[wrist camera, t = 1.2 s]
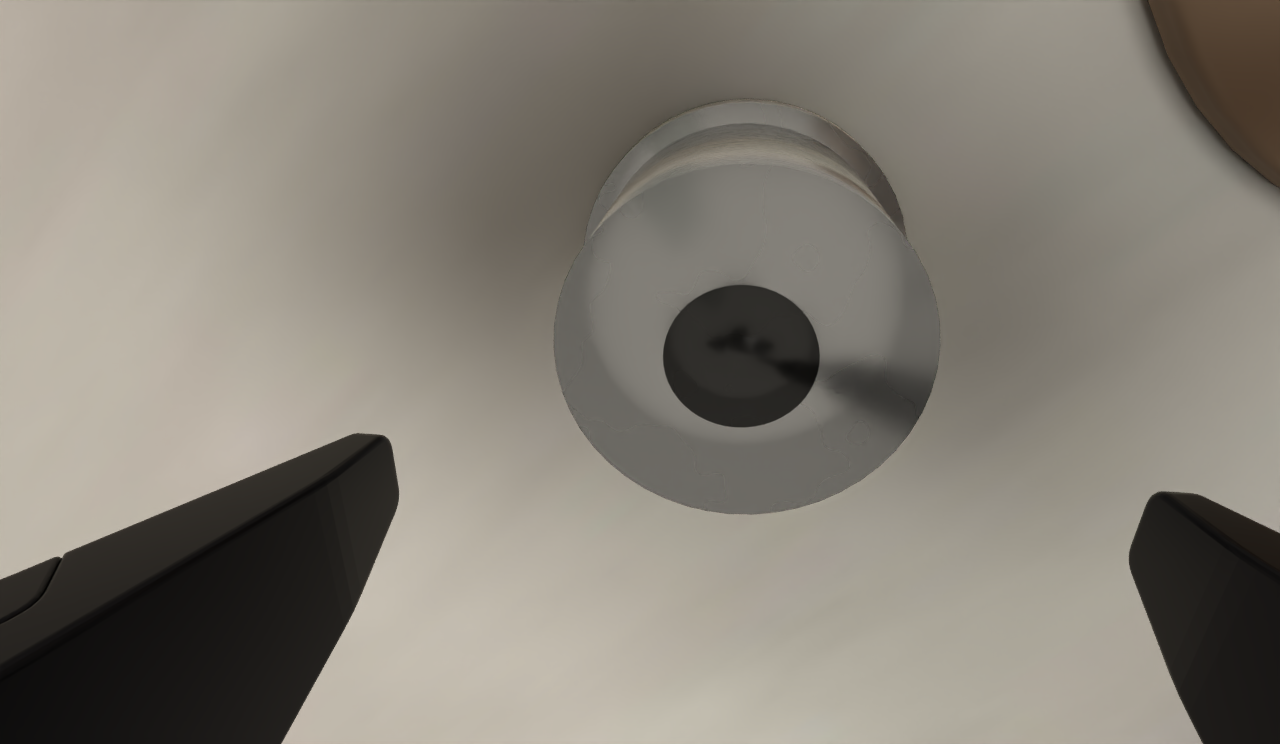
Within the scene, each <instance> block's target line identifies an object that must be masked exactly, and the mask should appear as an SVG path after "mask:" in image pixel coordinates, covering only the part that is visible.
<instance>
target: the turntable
mask: <svg viewBox="0 0 1280 744" xmlns="http://www.w3.org/2000/svg"><path fill="white" fill-rule="evenodd" d="M1148 2H1149V5H1150V8H1151V11H1152V13H1153V16H1154V19H1155V22H1156V24H1157V27H1158V30H1159V33H1160V35H1161V38H1162V41H1163V44H1164V46H1165V49H1166V52H1167V55H1168V57H1169V59H1170V61H1171V62H1172V64H1173V66H1174V68H1175V70H1176V71H1177V73H1178V75H1179V77H1180V78H1181V80H1182V82H1183V84H1184V85H1185V87H1186V89H1187V91H1188V92H1189V94H1190V96H1191V98H1192V100H1193V101H1194V103H1195V105H1196V107H1197V108H1198V109H1199V110H1200V111H1201V113H1202V114H1203V115H1204V116H1205V117H1206V119H1207V120H1208V121H1209V122H1210V123H1211V125H1212V126H1213V127H1214V128H1215V130H1216V131H1217V132H1218V133H1219V134H1220V136H1221V137H1222V138H1223V139H1224V140H1225V142H1226V143H1227V144H1228V145H1229V146H1230V148H1231V149H1232V150H1234V151H1235V152H1236V153H1237V154H1238V155H1239V156H1241V157H1242V158H1243V159H1244V160H1245V161H1247V162H1248V163H1249V164H1250V165H1251V166H1252V167H1254V168H1255V169H1256V170H1257V171H1258V172H1259V173H1261V174H1262V175H1263V176H1264V177H1265V178H1267V179H1268V180H1269V181H1270V182H1271V183H1273V184H1274V185H1276V186H1278V187H1279V188H1280V0H1148Z"/></svg>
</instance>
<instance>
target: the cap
mask: <svg viewBox="0 0 1280 744" xmlns="http://www.w3.org/2000/svg"><path fill="white" fill-rule="evenodd" d="M939 352H940V321H939V315H938V309H937V304H936V298H935V295H934V292H933V289H932V286H931V283H930V281H929V278H928V275H927V273H926V271H925V269H924V267H923V265H922V263H921V261H920V259H919V257H918V255H917V254H916V252H915V250H914V249H913V248H912V246H911V245H910V243H909V242H908V241H907V238H906V232H905V227H904V221H903V216H902V213H901V210H900V208H899V205H898V202H897V199H896V196H895V194H894V192H893V190H892V188H891V186H890V184H889V182H888V181H887V179H886V177H885V175H884V174H883V173H882V171H881V170H880V168H879V167H878V166H877V164H876V163H875V161H874V160H873V159H872V158H871V157H870V155H869V154H868V153H867V152H866V151H865V150H864V149H863V148H862V147H861V146H860V145H859V144H858V143H857V142H856V141H855V140H854V139H853V138H852V137H851V136H850V135H848V134H847V133H846V132H844V131H843V130H842V129H840V128H839V127H838V126H837V125H835V124H834V123H832V122H830V121H828V120H826V119H825V118H823V117H821V116H819V115H817V114H816V113H813V112H810V111H808V110H805V109H803V108H800V107H797V106H794V105H790V104H786V103H781V102H777V101H771V100H760V99H737V100H726V101H721V102H715V103H710V104H706V105H703V106H700V107H697V108H694V109H691V110H688V111H685V112H683V113H681V114H679V115H677V116H675V117H673V118H671V119H669V120H667V121H666V122H664V123H663V124H661V125H660V126H658V127H657V128H655V129H654V130H652V131H651V132H649V133H648V134H647V135H646V136H645V137H643V138H642V139H641V140H640V141H639V142H638V143H637V144H636V145H634V146H633V147H632V148H631V150H630V151H629V152H628V153H627V154H626V155H625V157H624V158H623V159H622V160H621V161H620V162H619V164H618V165H617V166H616V167H615V168H614V170H613V171H612V173H611V174H610V176H609V177H608V179H607V181H606V182H605V184H604V185H603V187H602V189H601V191H600V193H599V195H598V197H597V199H596V201H595V204H594V206H593V209H592V212H591V215H590V218H589V221H588V225H587V230H586V236H585V241H584V247H583V248H582V250H581V251H580V253H579V254H578V256H577V257H576V259H575V261H574V263H573V265H572V267H571V269H570V271H569V273H568V275H567V277H566V280H565V282H564V285H563V288H562V292H561V295H560V298H559V301H558V306H557V312H556V318H555V324H554V354H555V362H556V370H557V374H558V378H559V382H560V385H561V389H562V392H563V395H564V397H565V400H566V402H567V404H568V407H569V409H570V412H571V413H572V415H573V417H574V419H575V420H576V422H577V424H578V426H579V427H580V429H581V431H582V432H583V433H584V435H585V436H586V437H587V438H588V440H589V441H590V442H591V444H592V445H593V446H594V448H595V449H596V450H597V451H598V452H599V453H600V454H601V455H602V456H603V457H604V458H605V459H606V460H607V461H608V462H609V463H610V464H611V465H613V466H614V467H615V468H616V469H617V470H619V471H620V472H621V473H622V474H624V475H625V476H626V477H628V478H629V479H631V480H632V481H634V482H635V483H637V484H639V485H640V486H642V487H643V488H645V489H647V490H649V491H651V492H653V493H655V494H657V495H659V496H661V497H663V498H666V499H668V500H671V501H674V502H677V503H680V504H682V505H685V506H689V507H693V508H697V509H702V510H706V511H712V512H720V513H727V514H762V513H774V512H780V511H785V510H790V509H795V508H799V507H802V506H806V505H809V504H812V503H815V502H819V501H821V500H823V499H826V498H828V497H830V496H833V495H835V494H837V493H840V492H841V491H843V490H845V489H847V488H848V487H850V486H852V485H853V484H855V483H857V482H859V481H860V480H862V479H863V478H864V477H866V476H867V475H868V474H870V473H871V472H872V471H874V470H875V469H876V468H878V467H879V466H880V465H881V464H882V463H883V462H884V461H885V460H886V459H887V458H888V457H889V456H890V455H891V454H893V453H894V452H895V451H896V449H897V448H898V447H899V446H900V444H901V443H902V442H903V441H904V439H905V438H906V437H907V436H908V434H909V433H910V432H911V430H912V428H913V427H914V425H915V424H916V422H917V420H918V419H919V417H920V415H921V414H922V412H923V409H924V407H925V405H926V402H927V400H928V398H929V396H930V393H931V391H932V387H933V383H934V380H935V376H936V372H937V368H938V360H939Z"/></svg>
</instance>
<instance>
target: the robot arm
mask: <svg viewBox="0 0 1280 744" xmlns="http://www.w3.org/2000/svg"><path fill="white" fill-rule="evenodd" d="M398 501H399V487H398V481H397V475H396V469H395V463H394V457H393V450H392V446H391V443H390V441H389V439H388V438H386V437H385V436H383V435H376V434H362V433H356V434H352V435H349V436H347V437H344V438H342V439H339V440H337V441H335V442H332V443H330V444H327V445H325V446H323V447H320V448H318V449H315V450H313V451H310V452H308V453H306V454H303V455H301V456H298V457H296V458H294V459H291V460H289V461H286V462H284V463H281V464H279V465H277V466H274V467H272V468H269V469H267V470H265V471H262V472H260V473H257V474H255V475H253V476H250V477H248V478H245V479H243V480H240V481H238V482H236V483H233V484H231V485H228V486H226V487H224V488H221V489H219V490H216V491H214V492H211V493H209V494H207V495H204V496H202V497H199V498H197V499H195V500H192V501H190V502H187V503H185V504H183V505H180V506H178V507H175V508H173V509H170V510H168V511H166V512H163V513H161V514H158V515H156V516H154V517H151V518H149V519H146V520H144V521H142V522H139V523H137V524H134V525H132V526H129V527H127V528H125V529H122V530H120V531H117V532H115V533H113V534H110V535H108V536H105V537H103V538H100V539H98V540H96V541H93V542H91V543H88V544H86V545H84V546H81V547H79V548H76V549H74V550H72V551H69V552H67V553H65V554H64V556H63V558H60V557H54V558H52V559H49V560H47V561H45V562H42V563H40V564H37V565H35V566H33V567H30V568H28V569H25V570H23V571H21V572H18V573H16V574H13V575H11V576H8V577H6V578H3V579H1V580H0V744H281V743H282V742H283V740H284V738H285V736H286V734H287V732H288V731H289V729H290V727H291V725H292V723H293V722H294V720H295V718H296V716H297V714H298V712H299V711H300V709H301V707H302V705H303V703H304V702H305V700H306V698H307V696H308V694H309V693H310V691H311V689H312V687H313V685H314V683H315V682H316V680H317V678H318V676H319V674H320V673H321V671H322V669H323V667H324V665H325V663H326V662H327V660H328V658H329V656H330V654H331V653H332V651H333V649H334V647H335V645H336V644H337V642H338V640H339V638H340V636H341V634H342V633H343V631H344V629H345V627H346V625H347V623H348V621H349V619H350V618H351V616H352V614H353V612H354V610H355V607H356V605H357V603H358V601H359V599H360V596H361V594H362V592H363V589H364V587H365V585H366V582H367V580H368V577H369V575H370V572H371V570H372V568H373V565H374V563H375V560H376V558H377V556H378V553H379V551H380V548H381V546H382V543H383V541H384V539H385V536H386V534H387V531H388V529H389V526H390V524H391V522H392V519H393V517H394V514H395V512H396V509H397V506H398ZM1129 565H1130V570H1131V573H1132V576H1133V579H1134V581H1135V584H1136V587H1137V589H1138V592H1139V594H1140V597H1141V600H1142V602H1143V605H1144V608H1145V610H1146V613H1147V615H1148V618H1149V621H1150V623H1151V626H1152V629H1153V631H1154V634H1155V637H1156V639H1157V642H1158V644H1159V647H1160V650H1161V652H1162V655H1163V658H1164V660H1165V663H1166V665H1167V668H1168V671H1169V673H1170V676H1171V678H1172V680H1173V683H1174V685H1175V687H1176V690H1177V692H1178V694H1179V697H1180V699H1181V701H1182V703H1183V705H1184V707H1185V709H1186V711H1187V713H1188V715H1189V717H1190V719H1191V721H1192V723H1193V725H1194V727H1195V729H1196V731H1197V733H1198V735H1199V737H1200V739H1201V741H1202V743H1203V744H1280V533H1278V532H1276V531H1274V530H1272V529H1270V528H1268V527H1266V526H1264V525H1262V524H1259V523H1257V522H1255V521H1253V520H1251V519H1249V518H1247V517H1245V516H1243V515H1241V514H1239V513H1236V512H1234V511H1232V510H1230V509H1228V508H1226V507H1224V506H1222V505H1220V504H1218V503H1216V502H1214V501H1211V500H1209V499H1207V498H1205V497H1203V496H1201V495H1198V494H1193V493H1181V492H1167V491H1161V492H1157V493H1155V494H1154V495H1152V496H1151V497H1150V499H1149V500H1148V502H1147V504H1146V507H1145V509H1144V512H1143V515H1142V517H1141V520H1140V523H1139V525H1138V528H1137V531H1136V534H1135V536H1134V539H1133V542H1132V544H1131V547H1130V552H1129Z"/></svg>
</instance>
